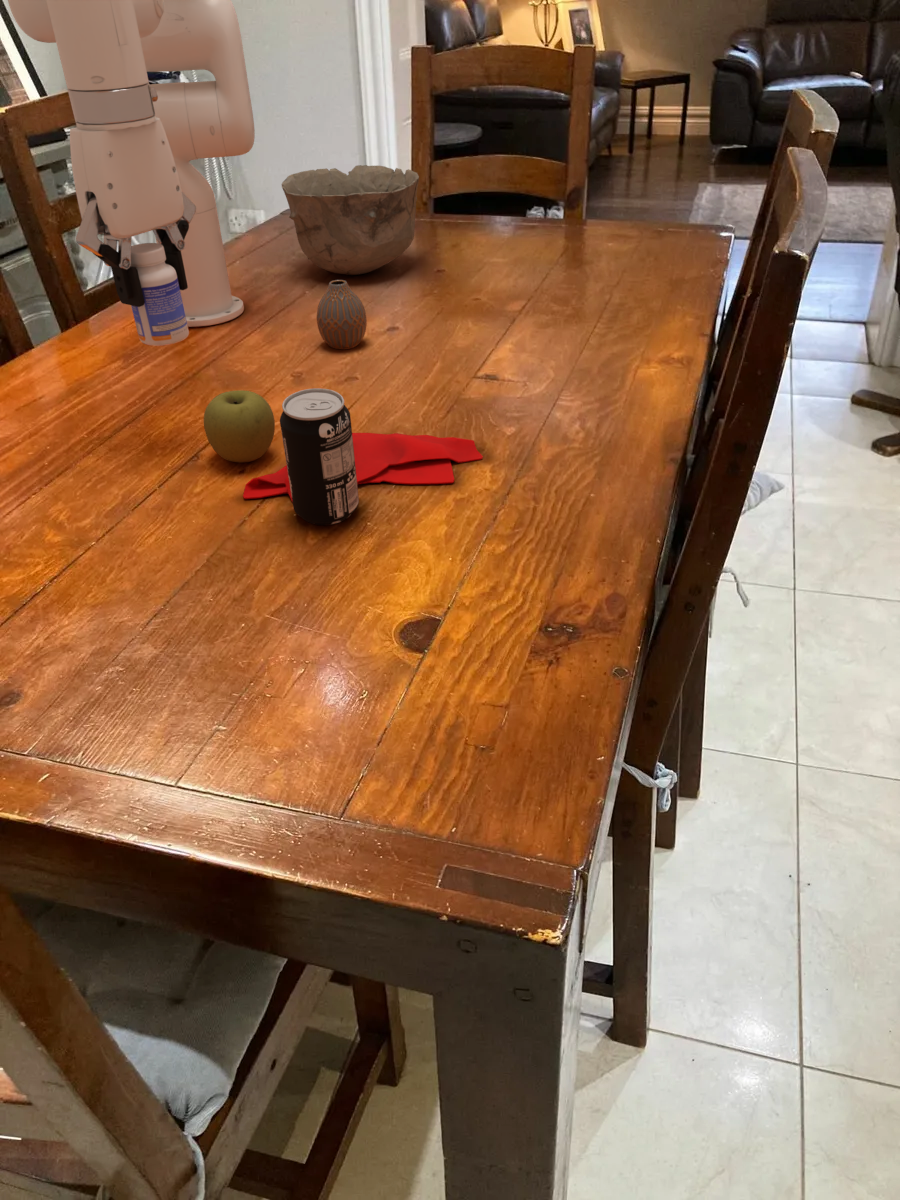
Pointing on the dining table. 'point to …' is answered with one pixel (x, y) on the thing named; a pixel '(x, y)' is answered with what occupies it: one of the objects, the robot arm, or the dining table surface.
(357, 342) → the vase
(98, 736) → the dining table surface
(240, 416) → the apple
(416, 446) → the cloth
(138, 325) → the pill bottle
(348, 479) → the beverage can
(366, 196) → the bowl
